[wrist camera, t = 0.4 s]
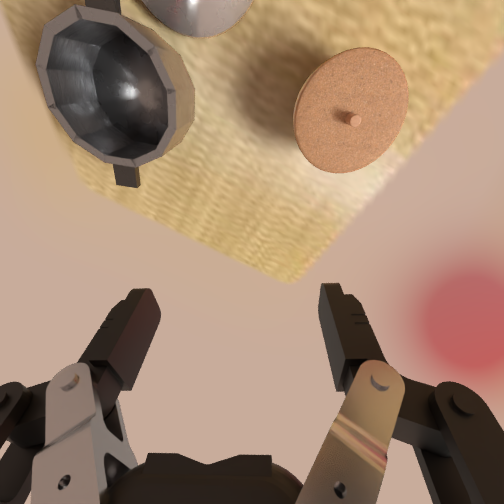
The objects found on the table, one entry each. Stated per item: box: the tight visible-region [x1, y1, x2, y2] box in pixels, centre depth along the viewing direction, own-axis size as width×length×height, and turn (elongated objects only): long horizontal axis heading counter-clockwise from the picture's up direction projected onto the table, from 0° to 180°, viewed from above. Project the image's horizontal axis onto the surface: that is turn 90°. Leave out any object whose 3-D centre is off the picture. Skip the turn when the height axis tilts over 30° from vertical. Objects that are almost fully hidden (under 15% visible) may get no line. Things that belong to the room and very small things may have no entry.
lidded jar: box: [293, 47, 408, 173], centre depth 26 cm, size 11×11×9 cm
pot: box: [36, 0, 195, 188], centre depth 26 cm, size 18×12×8 cm
